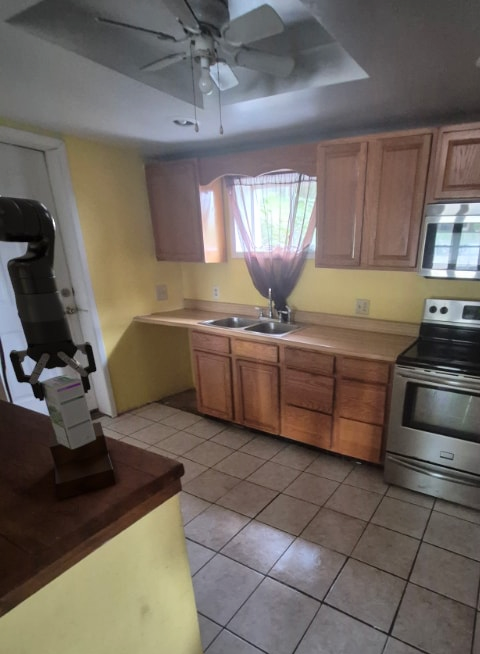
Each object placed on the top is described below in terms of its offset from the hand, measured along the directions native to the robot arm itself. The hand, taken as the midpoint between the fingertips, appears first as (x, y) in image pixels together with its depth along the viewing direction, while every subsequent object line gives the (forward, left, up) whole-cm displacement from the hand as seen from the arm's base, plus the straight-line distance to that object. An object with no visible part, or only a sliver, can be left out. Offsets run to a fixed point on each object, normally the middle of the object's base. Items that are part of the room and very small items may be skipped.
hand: (64, 395), depth 77 cm
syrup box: (0, 0, -11) cm, 11 cm away
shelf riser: (0, +4, -22) cm, 22 cm away
